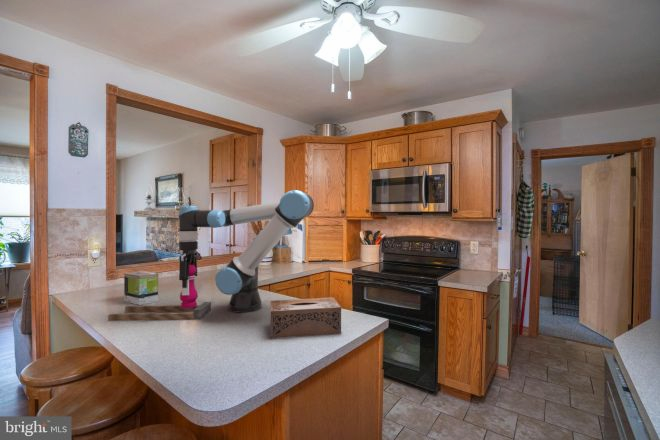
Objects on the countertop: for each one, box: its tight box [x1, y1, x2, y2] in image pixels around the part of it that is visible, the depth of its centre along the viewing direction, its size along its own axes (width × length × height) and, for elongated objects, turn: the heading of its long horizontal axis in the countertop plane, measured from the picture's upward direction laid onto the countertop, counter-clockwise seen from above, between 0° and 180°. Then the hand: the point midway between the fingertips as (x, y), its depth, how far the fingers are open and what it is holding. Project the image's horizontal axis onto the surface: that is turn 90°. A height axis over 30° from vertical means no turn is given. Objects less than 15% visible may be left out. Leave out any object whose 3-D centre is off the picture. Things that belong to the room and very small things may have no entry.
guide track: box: [107, 301, 212, 322], centre depth 139 cm, size 38×13×4 cm, turn 92°
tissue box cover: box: [269, 297, 342, 339], centre depth 122 cm, size 26×14×10 cm, turn 101°
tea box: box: [123, 270, 159, 306], centre depth 162 cm, size 15×10×15 cm, turn 58°
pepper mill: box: [179, 265, 199, 308], centre depth 139 cm, size 7×7×20 cm
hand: (188, 292), depth 139 cm, fingers closed on pepper mill, 6 cm apart
